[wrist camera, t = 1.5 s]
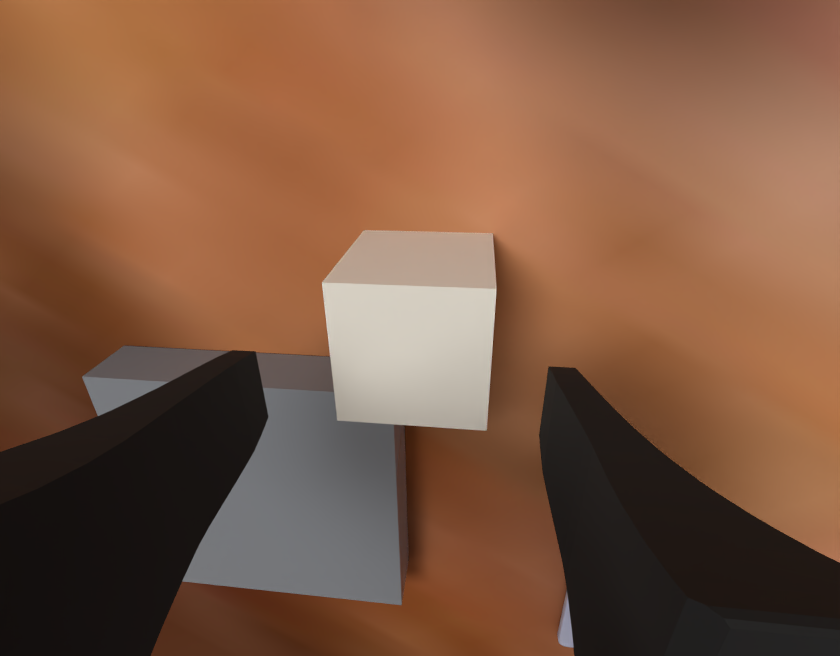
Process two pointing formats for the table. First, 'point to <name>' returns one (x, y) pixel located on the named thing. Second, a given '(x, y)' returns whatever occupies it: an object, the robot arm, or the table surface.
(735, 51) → the table surface
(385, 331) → the block
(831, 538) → the table surface
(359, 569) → the plate
